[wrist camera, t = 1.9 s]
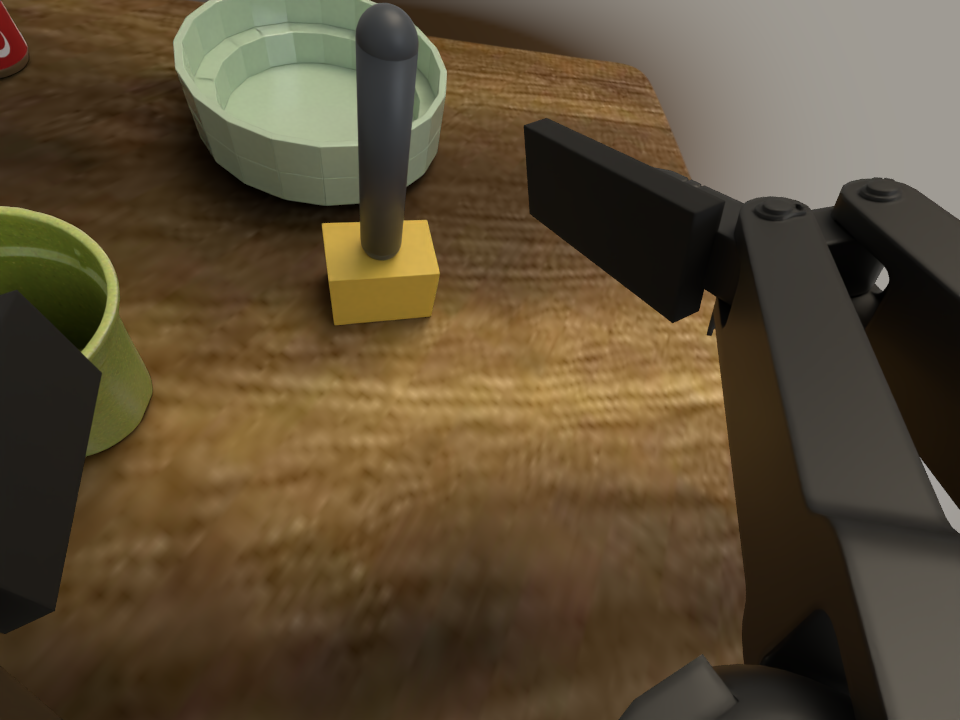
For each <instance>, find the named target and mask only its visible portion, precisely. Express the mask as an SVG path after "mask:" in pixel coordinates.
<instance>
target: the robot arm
mask: <svg viewBox="0 0 960 720" xmlns="http://www.w3.org/2000/svg"><path fill="white" fill-rule="evenodd" d="M524 136H525V151H526V165H527V180H528V194H529V209H530V214H531V215H532V216H533V217H535V218H536V219H537V220H539V221H540V222H541V223H543V224H544V225H545V226H546V227H548V228H549V229H550V230H552V231H553V232H554V233H556V234H557V235H558V236H560V237H561V238H562V239H563V240H565V241H566V242H567V243H569V244H570V245H571V246H573V247H574V248H575V249H577V250H578V251H579V252H580V253H582V254H583V255H584V256H586V257H587V258H588V259H590V260H591V261H592V262H594V263H595V264H596V265H597V266H599V267H600V268H601V269H603V270H604V271H605V272H607V273H608V274H609V275H610V276H612V277H613V278H614V279H616V280H617V281H618V282H620V283H621V284H622V285H624V286H625V287H626V288H627V289H629V290H630V291H631V292H633V293H634V294H635V295H637V296H638V297H639V298H641V299H642V300H643V301H644V302H646V303H647V304H648V305H650V306H651V307H652V308H654V309H655V310H656V311H658V312H659V313H660V314H661V315H663V316H664V317H665V318H667V319H668V320H669V321H671V322H672V323H674V322H676V321H678V320H681V319H683V318H685V317H687V316H689V315H691V314H693V313H696V312H698V311H699V309H700V304H701V300H702V296H703V292H704V289H705V290H707V291H708V292H710V293H711V294H713V295H714V296H716V301H715V305H714V309H713V312H712V316H711V320H710V323H709V327H708V331H707V335H709V336H712V333H713V329H715V330H716V338H717V347H718V355H719V363H720V372H721V380H722V388H723V397H724V405H725V414H726V422H727V430H728V439H729V447H730V455H731V464H732V472H733V481H734V489H735V497H736V506H737V514H738V523H739V531H740V539H741V548H742V556H743V564H744V573H745V581H746V603H745V609H744V615H743V623H742V644H743V657H744V664H734V665H721V666H714V667H712V666H711V665H710V663H709V662H708V661H707V659H706V658H705V657H704V655H703V654H702V655H700V656H699V657H697V658H696V659H694V660H693V661H691V662H690V663H688V664H687V665H685V666H684V667H682V668H681V669H679V670H678V671H677V672H675V673H674V674H672V675H671V676H669V677H668V678H666V679H665V680H663V681H662V682H660V683H659V684H657V685H656V686H654V687H653V688H651V689H650V690H648V691H647V692H645V693H644V694H642V695H641V696H639V697H638V698H636V699H635V700H633V702H632V703H631V704H630V706H629V707H628V708H627V710H626V711H625V712H624V713H623V715H622V716H621V717H620V719H619V720H960V533H958V532H957V531H956V530H955V529H953V528H952V527H951V525H950V523H949V522H948V520H947V518H946V517H945V514H944V512H943V510H942V508H941V505H940V503H939V501H938V498H937V496H936V494H935V492H934V489H933V487H932V485H931V482H930V480H929V478H928V475H927V473H926V471H925V468H924V466H923V464H922V462H921V459H922V460H923V462H924V463H925V464H926V466H927V467H928V468H929V470H930V471H931V472H932V474H933V475H934V476H935V478H936V479H937V480H938V482H939V483H940V484H941V486H942V487H943V488H944V490H945V491H946V492H947V494H948V495H949V496H950V497H951V499H952V500H953V501H954V503H955V504H956V505H957V507H958V508H959V509H960V220H959V219H957V218H956V217H954V216H953V215H951V214H950V213H949V212H947V211H946V210H944V209H943V208H942V207H940V206H938V205H937V204H936V203H934V202H933V201H932V200H930V199H929V198H927V197H926V196H925V195H923V194H922V193H920V192H919V191H917V190H916V189H914V188H912V187H910V186H908V185H906V184H903V183H900V182H896V181H894V180H893V179H888V178H884V179H882V178H872V179H860V180H855V181H851V182H849V183H847V184H845V185H843V187H842V189H841V191H840V194H839V196H838V199H837V201H836V204H835V206H832V207H826V208H820V209H814V210H811V209H810V208H809V207H808V206H807V205H805V204H803V203H801V202H799V201H796V200H792V199H788V198H783V197H761V198H755V199H753V200H749V201H747V202H746V203H742V202H740V201H737V200H735V199H733V198H731V197H729V196H726V195H724V194H722V193H720V192H718V191H715V190H713V189H711V188H709V187H706V186H701V184H700V183H698V182H696V181H693V180H688V178H687V177H684V176H682V175H680V174H678V173H676V172H673V171H670V170H665V169H660V168H654V167H651V166H649V165H647V164H645V163H643V162H640V161H638V160H636V159H634V158H632V157H630V156H628V155H625V154H623V153H621V152H619V151H617V150H615V149H612V148H610V147H608V146H606V145H604V144H602V143H600V142H597V141H595V140H593V139H591V138H589V137H587V136H584V135H582V134H580V133H578V132H576V131H574V130H571V129H569V128H567V127H565V126H563V125H561V124H559V123H556V122H554V121H552V120H550V119H548V118H545V119H542V120H539V121H536V122H533V123H530V124H527V125H524ZM883 267H885V268H886V270H887V271H888V275H889V284H888V285H887V287H886V288H885V289H884V291H882V290H880V289H879V288H878V287H877V286H876V284H875V282H876V280H877V278H878V276H879V274H880V272H881V270H882V269H883ZM101 376H102V372H101V371H100V370H99V369H98V368H97V367H96V366H95V365H94V364H93V363H92V362H91V361H89V360H88V359H87V358H86V357H85V356H84V355H83V354H82V353H81V352H80V351H79V350H78V349H77V348H76V347H75V346H74V345H73V344H72V343H71V342H70V341H69V340H68V339H67V338H66V337H65V336H64V335H63V334H62V333H61V332H60V331H59V330H58V329H57V328H56V327H55V326H54V325H53V324H52V323H51V322H50V321H49V320H48V319H47V318H46V317H45V316H44V315H42V314H41V313H40V312H39V311H38V310H37V309H36V308H35V307H34V306H33V305H32V304H31V303H30V302H29V301H28V300H27V299H26V298H25V297H24V296H23V295H22V294H21V293H20V292H19V291H18V290H14V291H11V292H8V293H5V294H2V295H0V633H3V634H6V633H8V632H10V631H13V630H15V629H17V628H19V627H21V626H23V625H25V624H28V623H30V622H32V621H34V620H36V619H38V618H40V617H43V616H45V615H47V614H49V613H51V612H53V611H55V607H56V602H57V597H58V592H59V587H60V582H61V577H62V572H63V567H64V562H65V557H66V552H67V547H68V542H69V537H70V532H71V527H72V522H73V517H74V512H75V507H76V502H77V497H78V492H79V487H80V482H81V477H82V472H83V466H84V461H85V456H86V451H87V446H88V441H89V436H90V431H91V426H92V421H93V416H94V411H95V406H96V401H97V396H98V391H99V386H100V381H101ZM920 458H921V459H920ZM0 720H62V719H61V718H60V717H59V716H58V715H57V714H56V713H54V712H53V711H52V710H51V709H50V708H49V707H47V706H46V705H45V704H44V703H43V702H42V701H41V700H39V699H38V698H37V697H36V696H35V695H34V694H32V693H31V692H30V691H29V690H28V689H27V688H25V687H24V686H23V685H22V684H21V683H20V682H19V681H17V680H16V679H15V678H14V677H13V676H12V675H10V674H9V673H8V672H7V671H6V670H5V669H4V668H2V667H1V666H0Z"/></svg>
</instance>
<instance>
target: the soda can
mask: <svg viewBox="0 0 960 720" xmlns="http://www.w3.org/2000/svg"><path fill="white" fill-rule="evenodd" d="M28 52H29V50H28V45H27V43H26V42H25V40H24V38H23V37H22V35H21V33H20V32H19V30H18V28H17V27H16V25H15V23H14V22H13V20H12V19H11V17H10V15H9V14H8V12H7V10H6V9H5V7H4V5H3V4H2V2H1V0H0V78H3V77H7V76H10V75H13V74H15V73H17V72H19V71H20V70H21V69H23V68H24V67H25V66H26V64H27V63H28V60H29V55H28Z"/></svg>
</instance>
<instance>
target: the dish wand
mask: <svg viewBox="0 0 960 720" xmlns="http://www.w3.org/2000/svg"><path fill="white" fill-rule="evenodd" d="M355 43H356V83H357V122H358V162H359V202H360V222H349V223H322V232H323V240H324V248H325V256H326V265H327V273H328V281H329V289H330V297H331V305H332V313H333V320H334V325H344V324H355V323H365V322H376V321H387V320H398V319H409V318H419V317H430V316H431V314H432V309H433V304H434V300H435V295H436V290H437V285H438V281H439V276H440V272H439V268H438V264H437V259H436V255H435V251H434V247H433V243H432V239H431V235H430V231H429V226H428V222H427V220H410V221H403V220H404V209H405V197H406V186H407V175H408V163H409V152H410V140H411V129H412V118H413V106H414V95H415V83H416V72H417V61H418V49H419V41H418V35H417V31H416V28H415V26H414V23H413V22H412V20H411V19H410V17H409V16H408V15H407V14H406V13H405V12H404V11H403V10H402V9H400V8H399V7H397V6H395V5H393V4H389V3H378V4H375V5H373V6H371V7H369V8H368V9H366V11H365V12H364V13H363V14H362V15H361V17H360V19H359V21H358V24H357V27H356V35H355Z"/></svg>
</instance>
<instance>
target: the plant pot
mask: <svg viewBox="0 0 960 720" xmlns="http://www.w3.org/2000/svg"><path fill="white" fill-rule="evenodd" d="M14 290H18V291H19V292H20V293H21V294H22V295H23V296H24V297H25V298H26V299H27V300H28V301H29V302H30V303H31V304H32V305H33V306H34V307H35V308H36V309H37V310H38V311H39V312H40V313H41V314H42V315H44V316H45V317H46V318H47V319H48V320H49V321H50V322H51V323H52V324H53V325H54V326H55V327H56V328H57V329H58V330H59V331H60V332H61V333H62V334H63V335H64V336H65V337H66V338H67V339H68V340H69V341H70V342H71V343H72V344H73V345H74V346H75V347H76V348H77V349H78V350H79V351H80V352H81V353H82V354H83V355H84V356H85V357H86V358H87V359H88V360H89V361H91V362H92V363H93V364H94V365H95V366H96V367H97V368H98V369H99V370H100V371H101V372H102V376H101V381H100V386H99V391H98V396H97V401H96V406H95V411H94V416H93V421H92V426H91V431H90V436H89V441H88V446H87V451H86V456H90V455H93V454H96V453H98V452H101V451H103V450H105V449H108V448H110V447H111V446H113V445H115V444H116V443H118V442H120V441H121V440H122V439H123V438H125V437H126V436H127V435H129V434H130V433H131V432H132V431H133V430H134V429H135V428H136V427H137V425H138V424H139V423H140V421H141V419H142V417H143V415H144V412H145V410H146V407H147V405H148V403H149V400H150V398H151V396H152V382H151V378H150V375H149V372H148V371H147V369H146V367H145V365H144V363H143V361H142V359H141V357H140V355H139V353H138V352H137V350H136V348H135V346H134V344H133V342H132V341H131V339H130V337H129V335H128V333H127V331H126V329H125V327H124V325H123V323H122V321H121V319H120V317H119V303H120V289H119V282H118V278H117V274H116V272H115V270H114V267H113V265H112V263H111V261H110V260H109V258H108V256H107V255H106V254H105V252H104V251H103V250H102V248H101V247H100V246H99V245H98V244H97V243H96V242H95V241H94V240H93V239H92V238H91V237H89V236H88V235H87V234H86V233H84V232H83V231H81V230H80V229H78V228H76V227H74V226H73V225H71V224H69V223H67V222H65V221H63V220H61V219H58V218H55V217H53V216H50V215H47V214H43V213H39V212H34V211H31V210H27V209H22V208H17V207H4V206H0V295H2V294H5V293H8V292H11V291H14ZM86 456H85V457H86Z"/></svg>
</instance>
